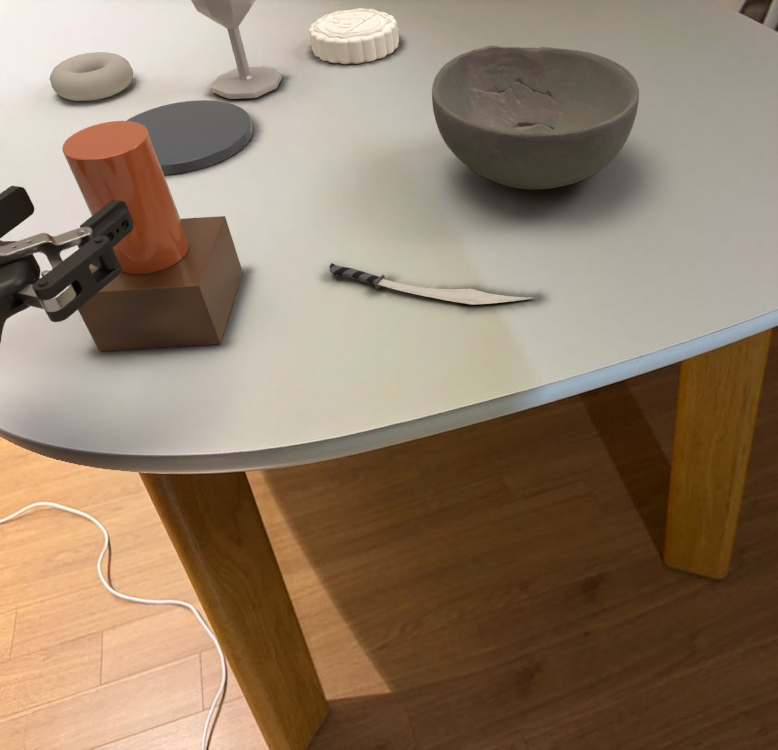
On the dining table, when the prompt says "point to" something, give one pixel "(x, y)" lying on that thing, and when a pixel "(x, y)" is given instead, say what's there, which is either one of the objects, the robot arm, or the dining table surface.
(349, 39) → the mooncake
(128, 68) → the donut
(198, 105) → the plate
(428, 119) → the dining table surface
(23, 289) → the robot arm
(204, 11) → the wineglass
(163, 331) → the stand
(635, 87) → the bowl
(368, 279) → the knife
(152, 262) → the orange cylinder
